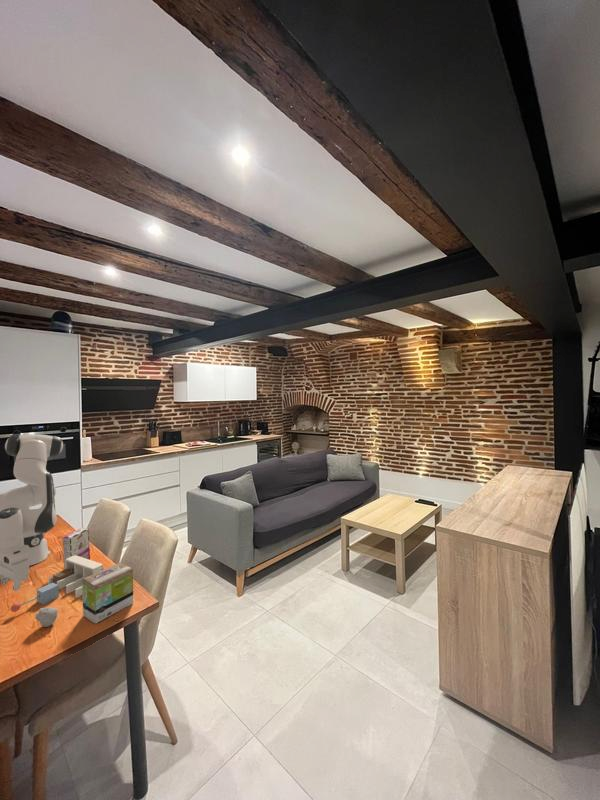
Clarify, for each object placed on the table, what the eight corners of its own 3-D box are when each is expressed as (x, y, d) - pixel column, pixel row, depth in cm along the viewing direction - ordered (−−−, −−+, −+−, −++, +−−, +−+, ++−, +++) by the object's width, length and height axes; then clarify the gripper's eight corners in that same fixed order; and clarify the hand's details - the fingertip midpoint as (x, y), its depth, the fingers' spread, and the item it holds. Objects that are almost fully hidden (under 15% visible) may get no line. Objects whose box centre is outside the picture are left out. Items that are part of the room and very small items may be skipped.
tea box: (96, 625, 126) (94, 585, 126) (82, 616, 131) (81, 578, 131) (134, 603, 139) (133, 567, 138) (120, 595, 144) (119, 561, 144)
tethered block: (8, 615, 133) (7, 603, 133) (53, 593, 147) (52, 582, 147) (14, 619, 131) (13, 606, 130) (58, 596, 145) (58, 585, 145)
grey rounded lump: (33, 627, 126) (33, 608, 126) (56, 617, 131) (55, 599, 131) (37, 634, 122) (36, 615, 121) (61, 624, 127) (60, 606, 127)
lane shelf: (48, 585, 153) (47, 566, 153) (75, 573, 163) (75, 555, 163) (76, 597, 143) (75, 577, 143) (103, 583, 154) (103, 564, 154)
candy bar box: (82, 558, 178) (81, 527, 177) (90, 559, 177) (89, 528, 176) (63, 570, 167) (61, 536, 166) (71, 570, 166) (70, 537, 165)
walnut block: (52, 585, 153) (52, 574, 153) (67, 579, 158) (66, 568, 158) (58, 588, 151) (58, 577, 151) (72, 581, 156) (72, 570, 156)
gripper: (-14, 549, 134) (-13, 583, 134) (12, 561, 124) (13, 598, 125) (6, 542, 139) (7, 575, 140) (32, 554, 130) (33, 589, 130)
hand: (10, 586), depth 132 cm, fingers open, 8 cm apart
